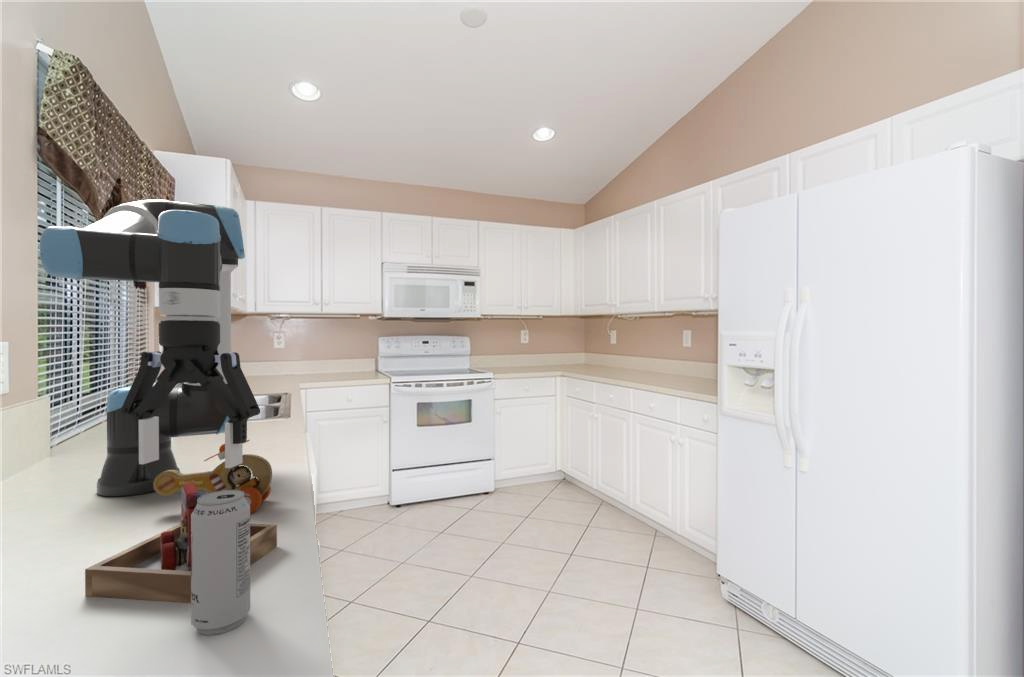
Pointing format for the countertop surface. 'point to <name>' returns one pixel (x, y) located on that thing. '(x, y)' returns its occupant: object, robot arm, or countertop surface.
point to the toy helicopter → (223, 479)
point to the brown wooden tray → (158, 569)
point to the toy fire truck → (181, 549)
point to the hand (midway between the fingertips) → (191, 463)
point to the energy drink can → (220, 561)
